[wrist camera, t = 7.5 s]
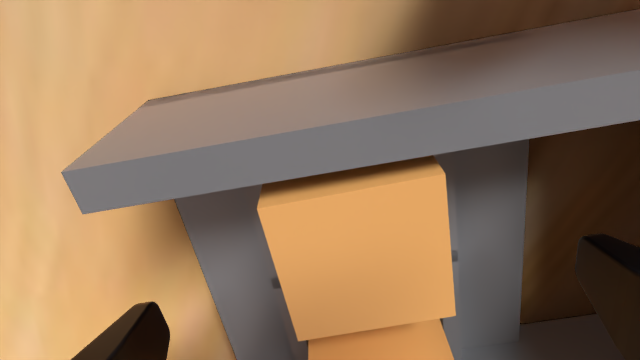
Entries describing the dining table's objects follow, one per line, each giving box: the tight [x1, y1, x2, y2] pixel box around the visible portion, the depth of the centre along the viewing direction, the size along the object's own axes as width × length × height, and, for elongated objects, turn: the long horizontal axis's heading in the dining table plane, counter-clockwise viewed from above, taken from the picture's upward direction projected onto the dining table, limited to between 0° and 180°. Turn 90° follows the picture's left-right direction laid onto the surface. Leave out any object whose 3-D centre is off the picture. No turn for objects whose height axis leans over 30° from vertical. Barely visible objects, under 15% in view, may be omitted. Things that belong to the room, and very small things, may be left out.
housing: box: [61, 9, 640, 360], centre depth 13 cm, size 13×24×5 cm, turn 100°
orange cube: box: [257, 155, 456, 341], centre depth 11 cm, size 4×4×4 cm
